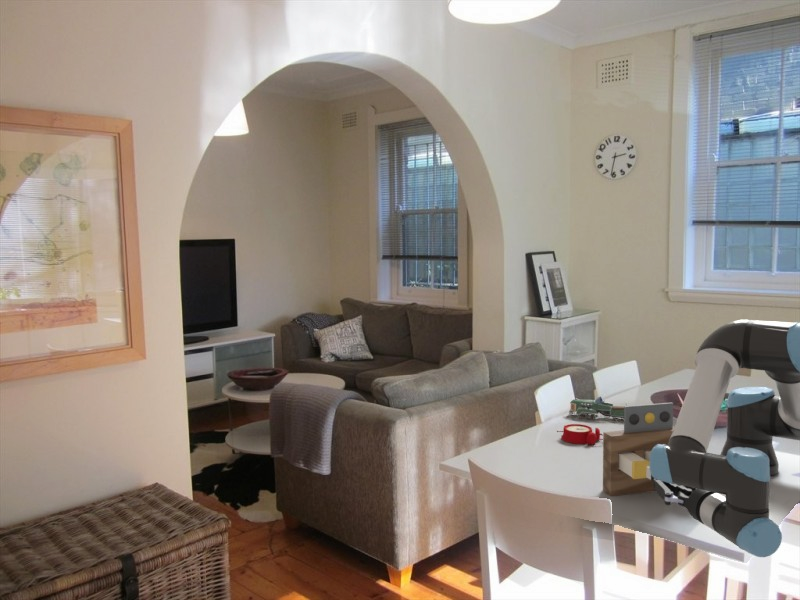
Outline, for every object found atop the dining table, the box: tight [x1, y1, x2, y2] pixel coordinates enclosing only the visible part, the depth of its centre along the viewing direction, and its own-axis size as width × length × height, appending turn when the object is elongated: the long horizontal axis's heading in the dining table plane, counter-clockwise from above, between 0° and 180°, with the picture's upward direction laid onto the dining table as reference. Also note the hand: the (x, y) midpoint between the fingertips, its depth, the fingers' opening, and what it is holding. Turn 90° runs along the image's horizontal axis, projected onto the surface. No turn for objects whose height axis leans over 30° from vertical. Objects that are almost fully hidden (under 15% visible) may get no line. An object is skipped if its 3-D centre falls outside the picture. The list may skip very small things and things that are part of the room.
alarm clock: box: [556, 423, 603, 446], centre depth 220 cm, size 10×6×15 cm
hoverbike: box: [568, 396, 628, 422], centre depth 245 cm, size 10×25×8 cm, turn 64°
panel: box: [602, 425, 675, 497], centre depth 177 cm, size 4×24×16 cm, turn 102°
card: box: [623, 402, 674, 433], centre depth 176 cm, size 1×14×7 cm, turn 102°
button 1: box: [618, 451, 649, 479], centre depth 171 cm, size 9×4×4 cm, turn 12°
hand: (649, 471), depth 163 cm, fingers closed
